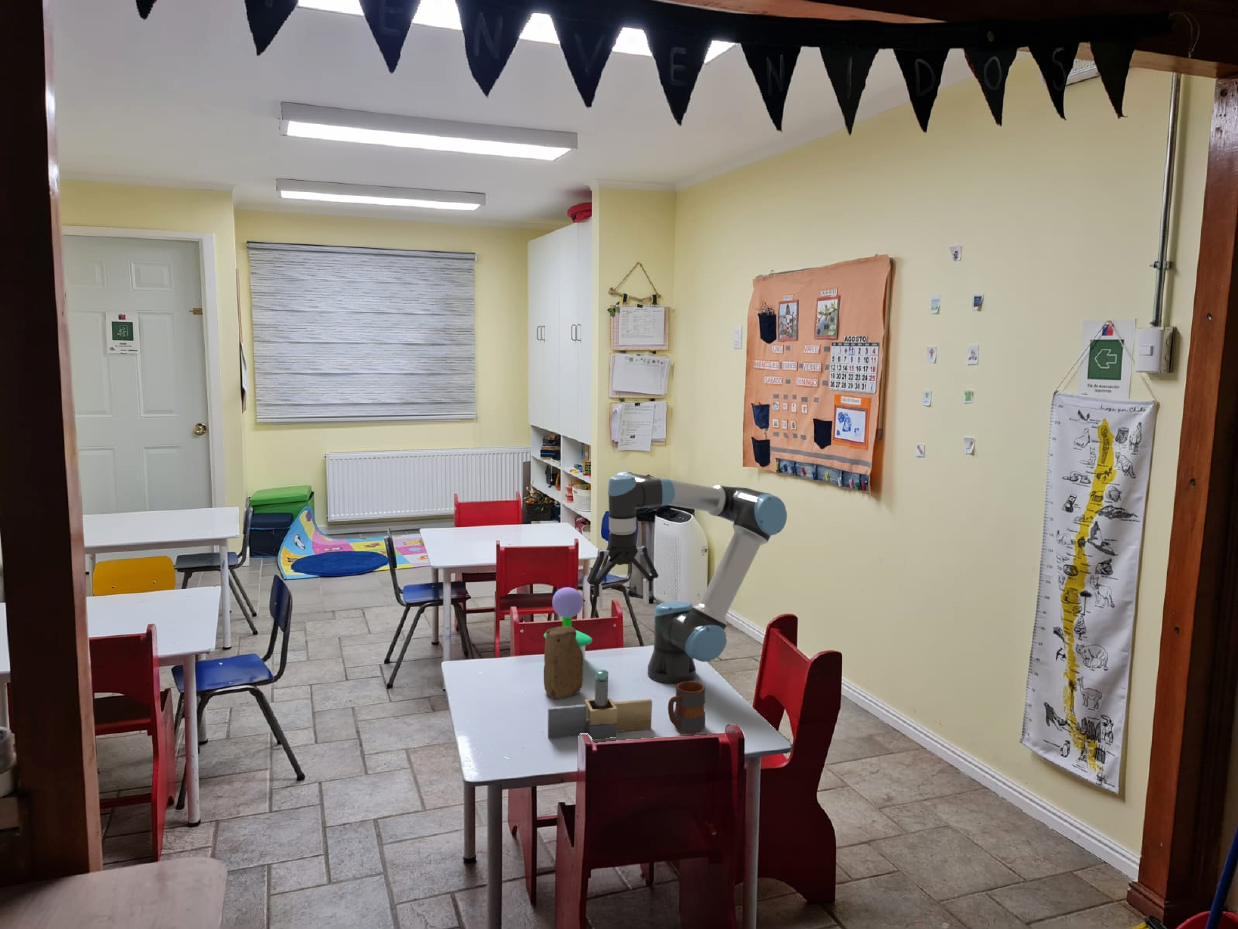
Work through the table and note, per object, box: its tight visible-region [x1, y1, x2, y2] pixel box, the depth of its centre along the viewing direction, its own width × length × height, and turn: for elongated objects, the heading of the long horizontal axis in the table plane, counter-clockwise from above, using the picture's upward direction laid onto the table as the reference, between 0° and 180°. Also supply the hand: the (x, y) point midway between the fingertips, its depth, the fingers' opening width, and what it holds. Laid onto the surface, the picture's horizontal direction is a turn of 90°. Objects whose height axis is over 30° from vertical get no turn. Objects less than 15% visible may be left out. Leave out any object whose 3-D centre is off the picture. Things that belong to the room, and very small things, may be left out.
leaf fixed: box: [547, 704, 618, 741], centre depth 227 cm, size 18×7×8 cm, turn 104°
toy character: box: [543, 586, 593, 660], centre depth 276 cm, size 15×12×25 cm
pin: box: [594, 669, 609, 709], centre depth 227 cm, size 3×3×17 cm
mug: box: [667, 680, 706, 734], centre depth 232 cm, size 9×12×12 cm
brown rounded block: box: [543, 625, 584, 699], centre depth 252 cm, size 11×8×20 cm
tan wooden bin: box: [584, 697, 653, 732], centre depth 229 cm, size 18×7×8 cm, turn 104°
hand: (623, 605), depth 241 cm, fingers open, 13 cm apart
